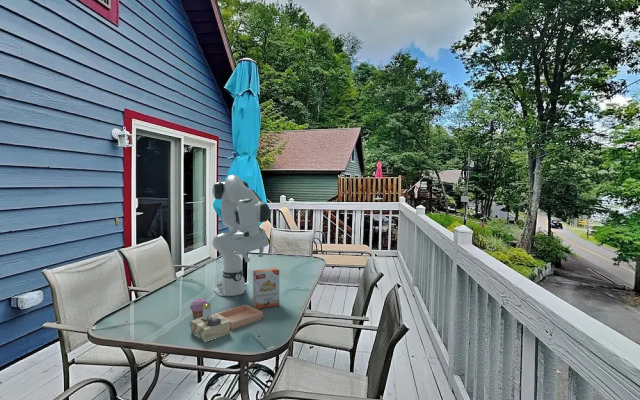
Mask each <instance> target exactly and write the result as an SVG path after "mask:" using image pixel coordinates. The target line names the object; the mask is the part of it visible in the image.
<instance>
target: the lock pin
mask: <svg viewBox="0 0 640 400" xmlns="http://www.w3.org/2000/svg"><path fill="white" fill-rule="evenodd" d="M211 308H212V305H211V303H209V302H208V303H206V304H203V321H204V322H206V321H208V320H209V319H211V314H212V312H211V311H212V310H211Z"/></svg>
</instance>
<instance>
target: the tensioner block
mask: <svg viewBox="0 0 640 400" xmlns="http://www.w3.org/2000/svg"><path fill="white" fill-rule="evenodd" d="M191 332H192V333H194V334H195V335H197V336H198V337H200V338H201V339H203V340H204V341H208V340H211V339H214V338H218V337H221V336H223V337H226V336H229V335H230V334H231V329H230V321H228V320H226V319H224V318H222V317H221V316H219V315H217V314H216V313H211V319H209V320H208V321H206V322H204V321H203V317H201V318H198V319H194V318H193V319H192V320H190V333H191ZM228 334H229V335H228ZM225 335H226V336H225ZM221 338H222V337H221ZM218 339H219V338H218Z"/></svg>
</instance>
